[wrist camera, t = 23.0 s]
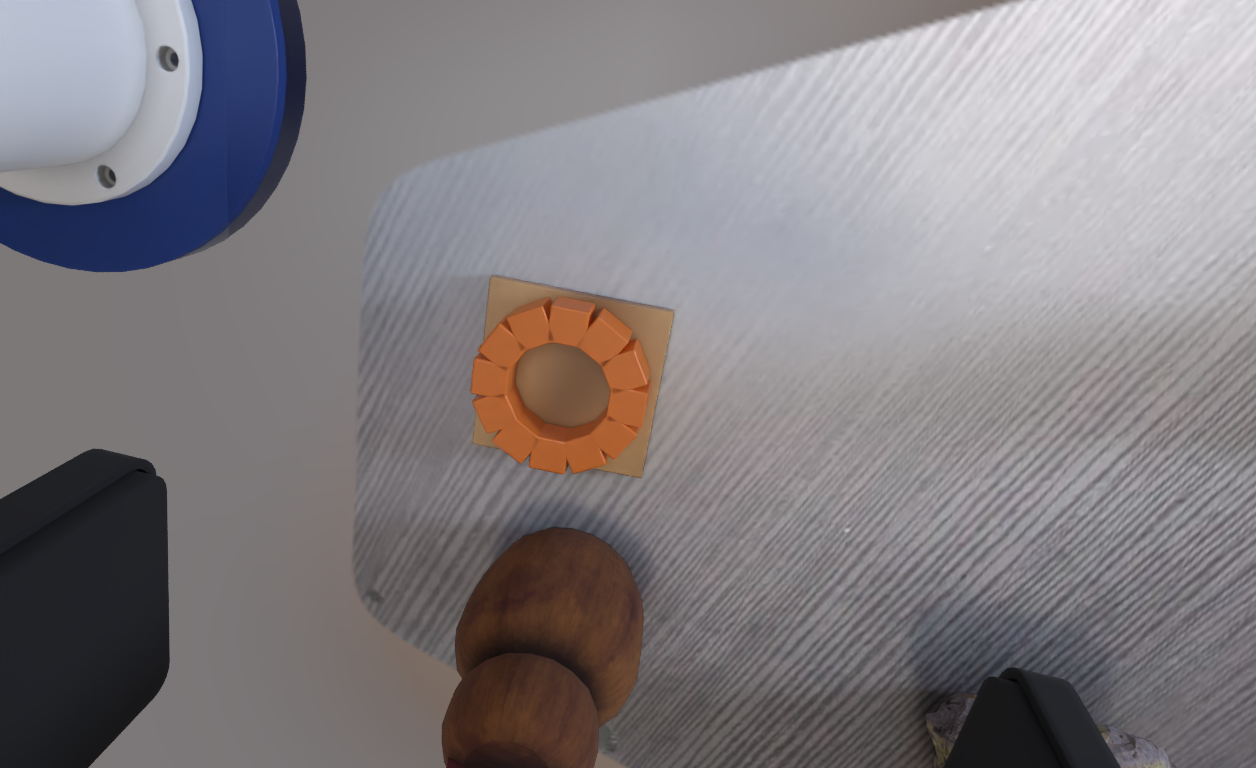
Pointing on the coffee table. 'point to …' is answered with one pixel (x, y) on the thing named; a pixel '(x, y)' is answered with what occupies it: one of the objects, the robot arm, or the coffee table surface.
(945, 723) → the rock
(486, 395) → the ring
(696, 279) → the coffee table surface
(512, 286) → the coaster
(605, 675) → the wooden figurine
